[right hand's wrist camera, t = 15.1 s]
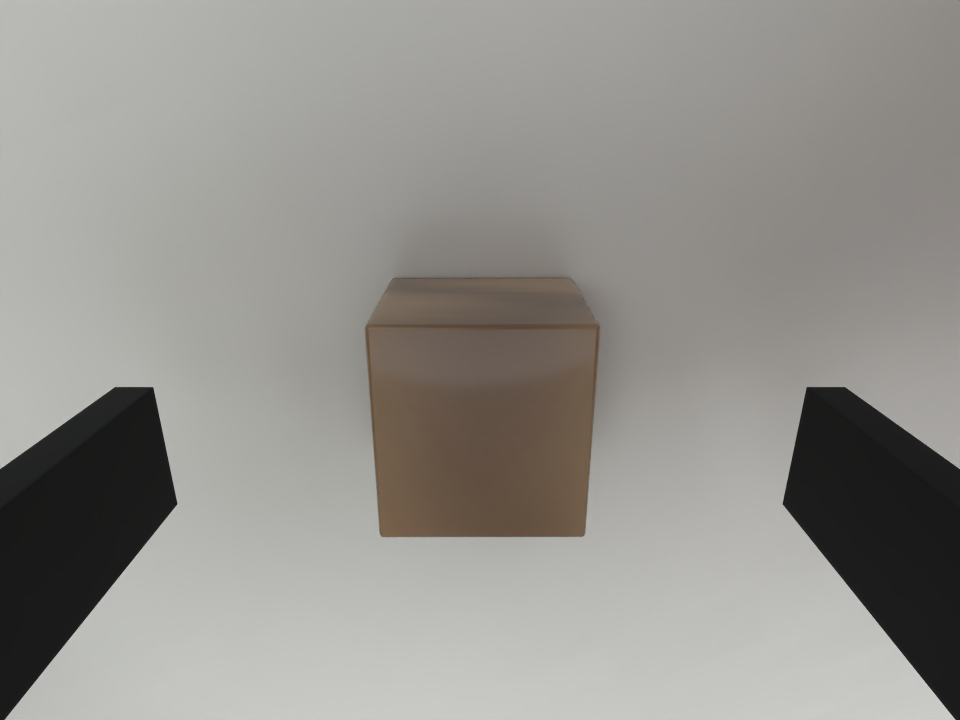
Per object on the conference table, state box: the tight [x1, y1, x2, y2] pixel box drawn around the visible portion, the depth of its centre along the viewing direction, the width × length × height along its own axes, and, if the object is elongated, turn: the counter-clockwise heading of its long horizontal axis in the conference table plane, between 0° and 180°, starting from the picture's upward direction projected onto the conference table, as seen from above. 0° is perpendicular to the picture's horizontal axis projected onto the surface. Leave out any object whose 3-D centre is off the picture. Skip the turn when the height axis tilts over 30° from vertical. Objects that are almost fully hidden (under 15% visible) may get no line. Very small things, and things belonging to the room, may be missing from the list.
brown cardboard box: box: [365, 278, 600, 537], centre depth 15 cm, size 5×5×4 cm
